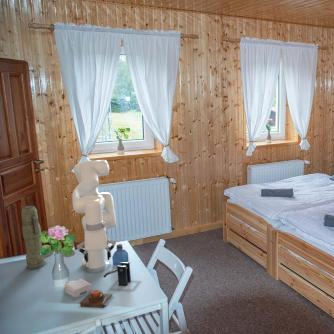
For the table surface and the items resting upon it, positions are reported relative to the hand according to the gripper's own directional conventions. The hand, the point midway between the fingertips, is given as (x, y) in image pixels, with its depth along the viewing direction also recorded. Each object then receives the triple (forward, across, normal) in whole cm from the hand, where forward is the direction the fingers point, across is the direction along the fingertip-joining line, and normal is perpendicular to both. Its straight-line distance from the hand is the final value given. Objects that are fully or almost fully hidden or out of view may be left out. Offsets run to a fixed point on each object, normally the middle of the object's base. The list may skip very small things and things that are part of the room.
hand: (98, 260), depth 184 cm
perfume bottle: (+18, -8, -32) cm, 37 cm away
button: (+15, +2, +6) cm, 16 cm away
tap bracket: (+18, -11, -7) cm, 22 cm away
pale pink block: (+19, +13, -8) cm, 24 cm away
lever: (+11, -7, -8) cm, 16 cm away
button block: (+19, +2, +6) cm, 19 cm away
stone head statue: (+18, +39, -44) cm, 62 cm away
